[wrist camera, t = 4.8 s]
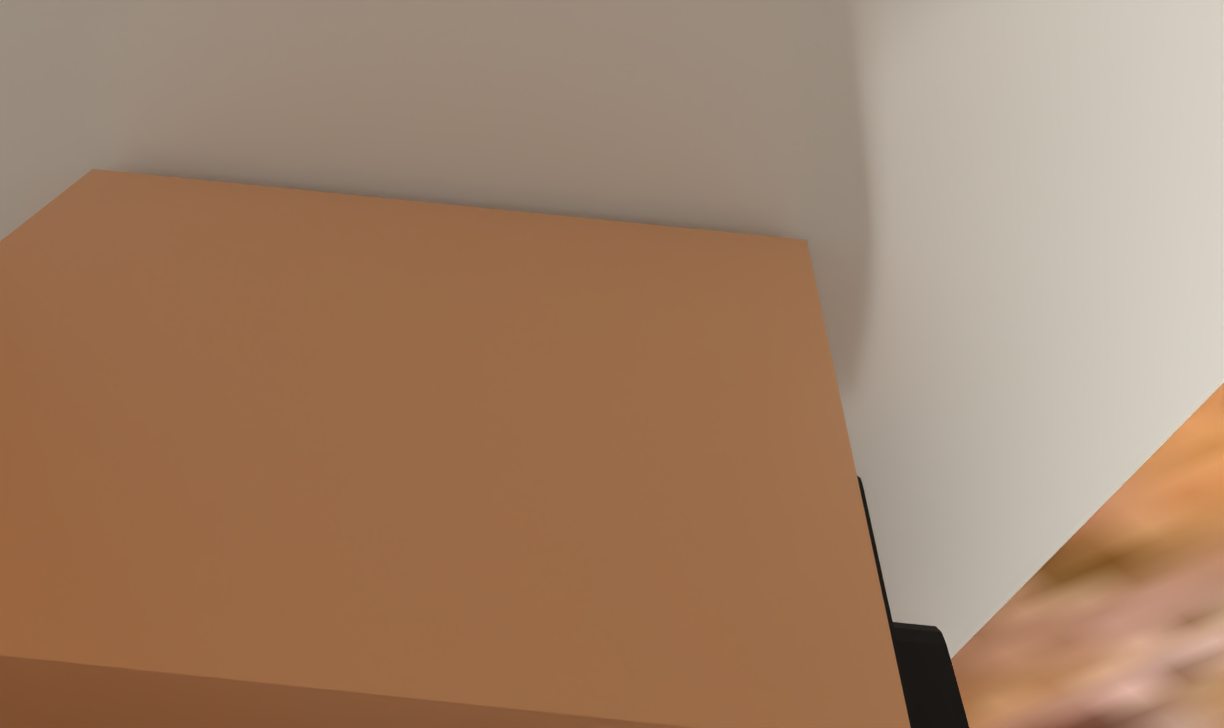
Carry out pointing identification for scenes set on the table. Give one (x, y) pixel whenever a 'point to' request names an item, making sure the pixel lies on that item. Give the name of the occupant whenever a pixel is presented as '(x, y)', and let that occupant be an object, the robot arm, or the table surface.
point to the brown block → (421, 471)
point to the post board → (755, 196)
